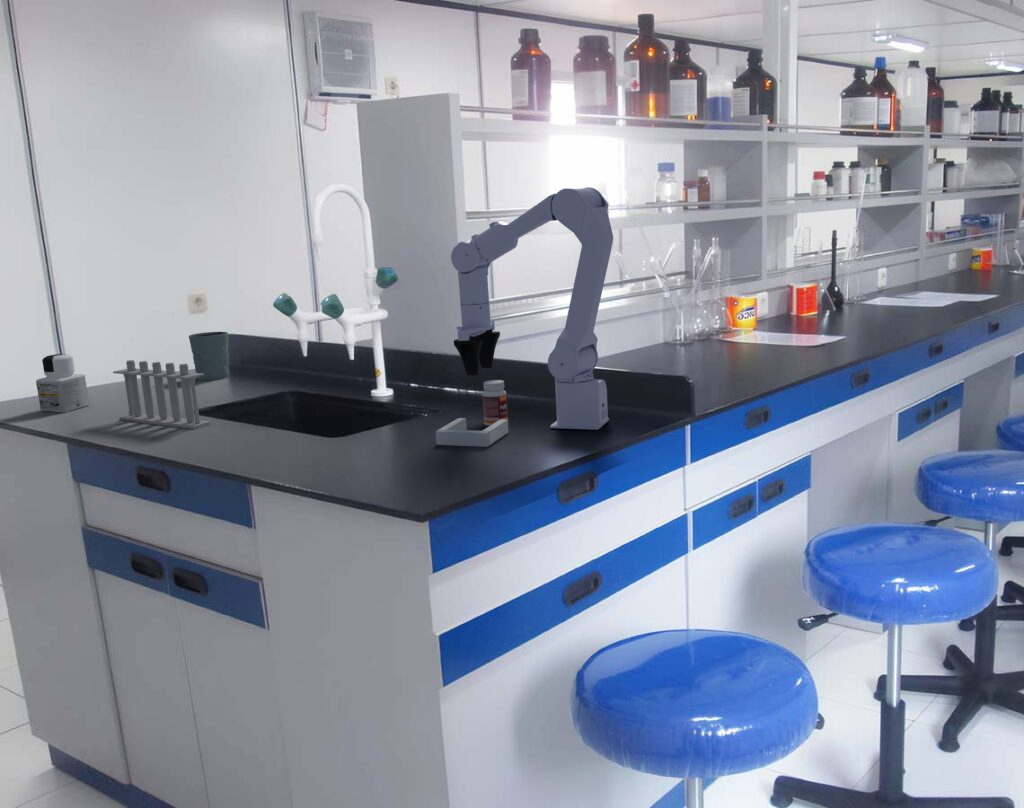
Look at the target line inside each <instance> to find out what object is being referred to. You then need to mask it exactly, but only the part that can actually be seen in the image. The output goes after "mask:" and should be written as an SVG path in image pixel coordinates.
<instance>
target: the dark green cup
mask: <svg viewBox="0 0 1024 808" xmlns="http://www.w3.org/2000/svg"><path fill="white" fill-rule="evenodd" d="M188 339H189V345H190V349H191V353H192V358H193V364H194V370H195V373H202V374H204V376H200V377H196V380H197V381H206V382H207V381H217V380H222V379H223V380H224V379H227V378H229V377H230V363H229V362H230V361H229V360H230V358H229V357H230V355H229V332H227V331H210V332H209V331H208V332H207V331H206V332H200V333H198V332H197V333H193V334H190V335H188Z"/></svg>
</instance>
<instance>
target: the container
mask: <svg viewBox="0 0 1024 808" xmlns="http://www.w3.org/2000/svg"><path fill="white" fill-rule="evenodd" d="M73 357H74V356H72V354H70V353H69V354H68V353H59V354H51V355H47V356H45V357H43V358H42V361H41V362H42V369H43V373H44V376H45V377H41V378H37V379H36V380H35V383H36V390H37V396H38V402H39V408H40V412H42V411H54V412H53V413H64V412H65V413H67V412H71V410H72V411H75V409H76V410H79V409H82V408H85V407H89V406H90V400H89V394H88V393H89V392H88V387H87V381H86V374H81V373H75V372H76V370H75V364H74V358H73Z"/></svg>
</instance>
